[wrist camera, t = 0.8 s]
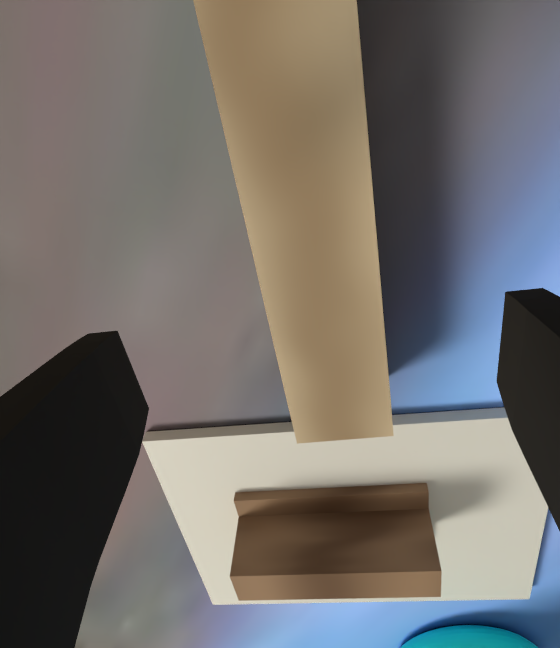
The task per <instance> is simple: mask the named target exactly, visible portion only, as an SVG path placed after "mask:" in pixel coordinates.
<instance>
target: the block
mask: <svg viewBox="0 0 560 648" xmlns="http://www.w3.org/2000/svg"><path fill="white" fill-rule="evenodd" d="M234 504H235V507H236V510H237V513H238V516H239V518H238V524H237V531H236V538H235V544H234V551H233V557H232V564H231V571H230V579H231V581H232V584H233V587H234V589H235V592H236V595H237V597H238V600H239V601H249V600H302V599H356V598H410V597H441V575H442V570H441V566H440V561H439V556H438V551H437V546H436V541H435V537H434V532H433V527H432V522H431V517H430V512H429V491H428V486H427V483H412V484H392V485H372V486H352V487H331V488H311V489H291V490H271V491H251V492H235V495H234Z"/></svg>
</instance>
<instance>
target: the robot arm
mask: <svg viewBox="0 0 560 648" xmlns="http://www.w3.org/2000/svg"><path fill="white" fill-rule="evenodd" d="M497 384H498V388H499V391H500V394H501V398H502V401H503V404H504V408H505V411H506V414H507V417H508V420H509V423H510V426H511V429H512V431H513V434H514V436H515V438H516V440H517V442H518V444H519V447H520V449H521V451H522V453H523V455H524V457H525V459H526V461H527V464H528V466H529V468H530V470H531V472H532V474H533V476H534V478H535V480H536V483H537V485H538V487H539V489H540V491H541V493H542V495H543V497H544V499H545V501H546V503H547V506H548V508H549V510H550V512H551V514H552V516H553V518H554V520H555V522H556V524H557V526H558V529H559V531H560V297H559V296H557V295H555V294H553V293H551V292H549V291H547V290H545V289H543V288H539V289H529V290H519V291H509V292H505V302H504V312H503V322H502V333H501V343H500V353H499V363H498V373H497ZM148 410H149V408H148V405H147V403H146V400H145V398H144V395H143V393H142V390H141V388H140V385H139V383H138V380H137V378H136V375H135V373H134V370H133V368H132V366H131V363H130V361H129V358H128V356H127V353H126V351H125V348H124V346H123V343H122V341H121V338H120V336H119V333H118V331H110V332H100V333H90V334H87V335H85V336H84V337H82V338H80V339H79V340H77V341H76V342H74V343H73V344H71V345H70V346H68V347H67V348H65V349H64V350H63V351H61V352H60V353H58V354H57V355H56V356H54V357H53V358H52V359H50V360H49V361H48V362H46V363H45V364H44V365H42V366H41V367H40V368H38V369H37V370H36V371H34V372H33V373H32V374H30V375H29V376H28V377H26V378H25V379H24V380H22V381H21V382H20V383H18V384H17V385H16V386H14V387H13V388H12V389H10V390H9V391H8V392H6V393H5V394H4V395H2V396H1V397H0V648H74V647H75V643H76V639H77V636H78V632H79V628H80V624H81V621H82V617H83V613H84V609H85V606H86V602H87V598H88V594H89V591H90V587H91V584H92V581H93V578H94V575H95V572H96V569H97V566H98V563H99V560H100V557H101V555H102V552H103V549H104V547H105V544H106V541H107V539H108V536H109V533H110V531H111V528H112V526H113V523H114V520H115V518H116V515H117V512H118V510H119V507H120V504H121V502H122V499H123V497H124V494H125V491H126V489H127V486H128V483H129V480H130V478H131V475H132V472H133V469H134V467H135V464H136V461H137V458H138V455H139V452H140V448H141V443H142V439H143V435H144V430H145V425H146V420H147V415H148Z"/></svg>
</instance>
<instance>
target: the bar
mask: <svg viewBox="0 0 560 648" xmlns="http://www.w3.org/2000/svg"><path fill="white" fill-rule="evenodd" d="M193 1H194V5H195V9H196V14H197V18H198V22H199V27H200V31H201V35H202V39H203V44H204V48H205V52H206V56H207V61H208V65H209V69H210V74H211V78H212V82H213V86H214V91H215V95H216V99H217V104H218V108H219V112H220V116H221V121H222V125H223V129H224V134H225V138H226V142H227V146H228V151H229V155H230V159H231V163H232V168H233V172H234V176H235V181H236V185H237V189H238V193H239V198H240V202H241V206H242V211H243V215H244V219H245V223H246V228H247V232H248V236H249V241H250V245H251V249H252V253H253V258H254V262H255V266H256V270H257V275H258V279H259V283H260V288H261V292H262V296H263V300H264V305H265V309H266V313H267V318H268V322H269V326H270V330H271V335H272V339H273V343H274V347H275V352H276V356H277V360H278V365H279V369H280V373H281V377H282V382H283V386H284V390H285V395H286V399H287V403H288V407H289V412H290V416H291V420H292V425H293V429H294V433H295V437H296V442H297V444H298V443H311V442H323V441H336V440H349V439H361V438H374V437H387V436H394V434H393V423H392V411H391V399H390V387H389V376H388V364H387V352H386V340H385V329H384V317H383V305H382V293H381V281H380V270H379V258H378V246H377V234H376V223H375V211H374V199H373V187H372V176H371V164H370V152H369V140H368V129H367V117H366V105H365V93H364V81H363V70H362V58H361V46H360V34H359V23H358V11H357V0H193Z"/></svg>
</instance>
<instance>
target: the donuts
mask: <svg viewBox="0 0 560 648" xmlns="http://www.w3.org/2000/svg"><path fill="white" fill-rule="evenodd" d="M401 648H538V647H537V646H536V645H535V644H533V643H532V642H530V641H529V640H527V639H526V638H524V637H522V636H520V635H518V634H516V633H513V632H510V631H508V630H504V629H500V628H494V627H489V626H481V625H457V626H449V627H443V628H438V629H434V630H431V631H427V632H425V633H422V634H420V635H418V636H416V637H414V638H412V639H410V640H409V641H407V642H406V643H405V644H404V645H403V646H402V647H401Z"/></svg>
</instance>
